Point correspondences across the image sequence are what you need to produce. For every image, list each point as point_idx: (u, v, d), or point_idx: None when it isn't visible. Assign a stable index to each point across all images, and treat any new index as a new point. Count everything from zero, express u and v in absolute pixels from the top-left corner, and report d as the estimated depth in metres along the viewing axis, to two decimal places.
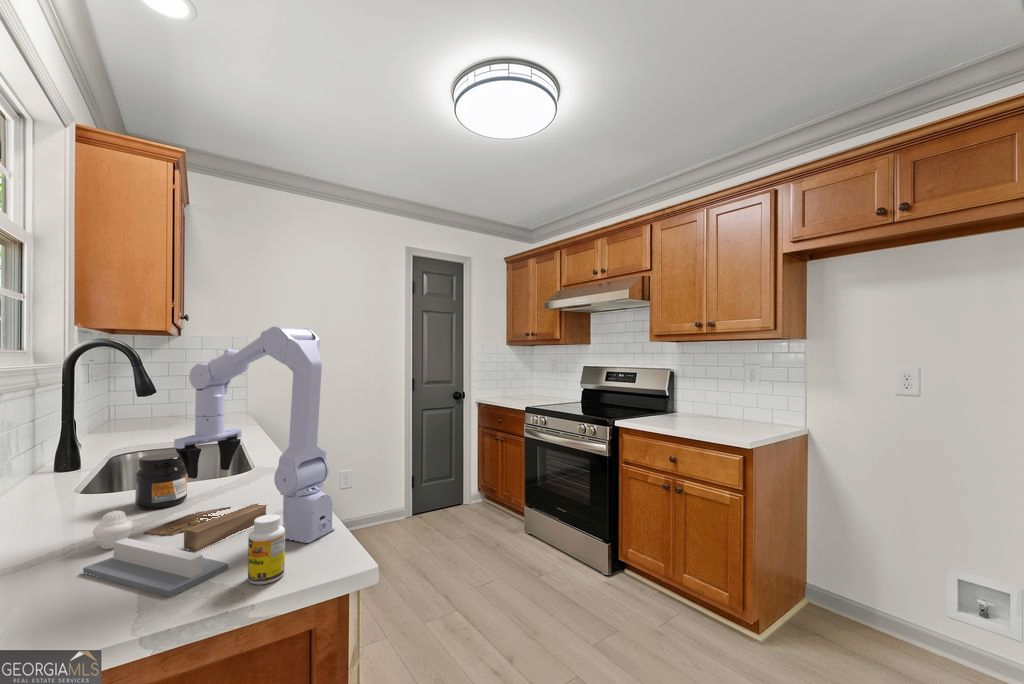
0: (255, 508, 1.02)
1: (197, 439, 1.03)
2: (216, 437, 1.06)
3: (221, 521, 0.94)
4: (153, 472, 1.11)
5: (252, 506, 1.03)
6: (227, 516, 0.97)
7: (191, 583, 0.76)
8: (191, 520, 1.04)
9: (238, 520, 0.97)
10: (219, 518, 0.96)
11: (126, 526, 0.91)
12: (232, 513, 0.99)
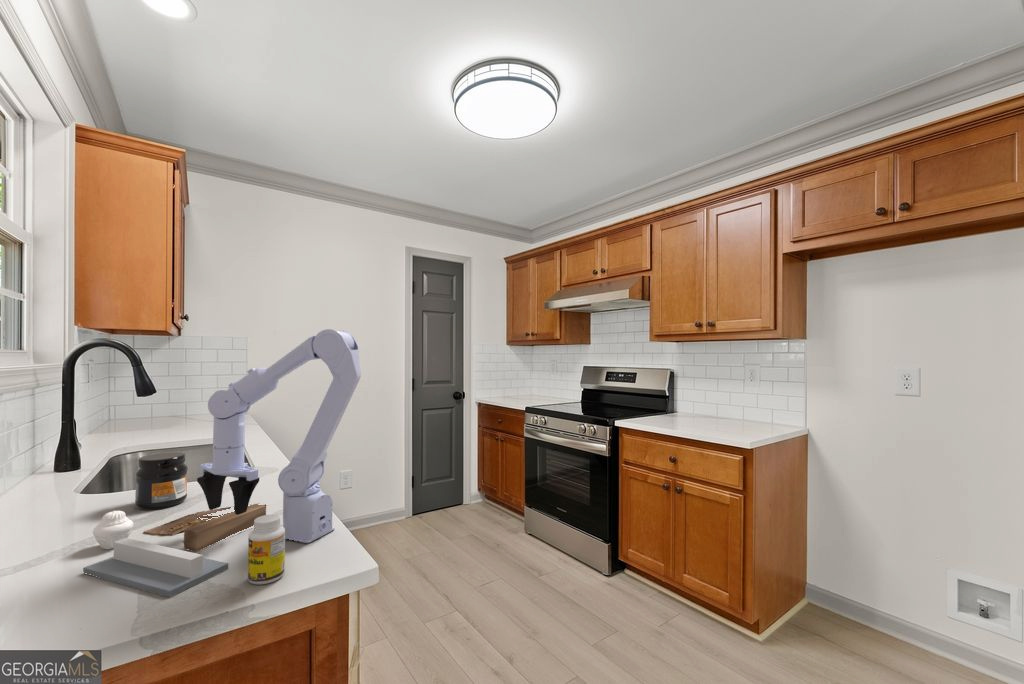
0: (255, 508, 1.02)
1: (207, 469, 0.97)
2: (213, 472, 0.95)
3: (221, 521, 0.94)
4: (153, 472, 1.11)
5: (252, 506, 1.03)
6: (227, 516, 0.97)
7: (191, 583, 0.76)
8: (191, 520, 1.04)
9: (238, 520, 0.97)
10: (219, 518, 0.96)
11: (126, 526, 0.91)
12: (232, 513, 0.99)
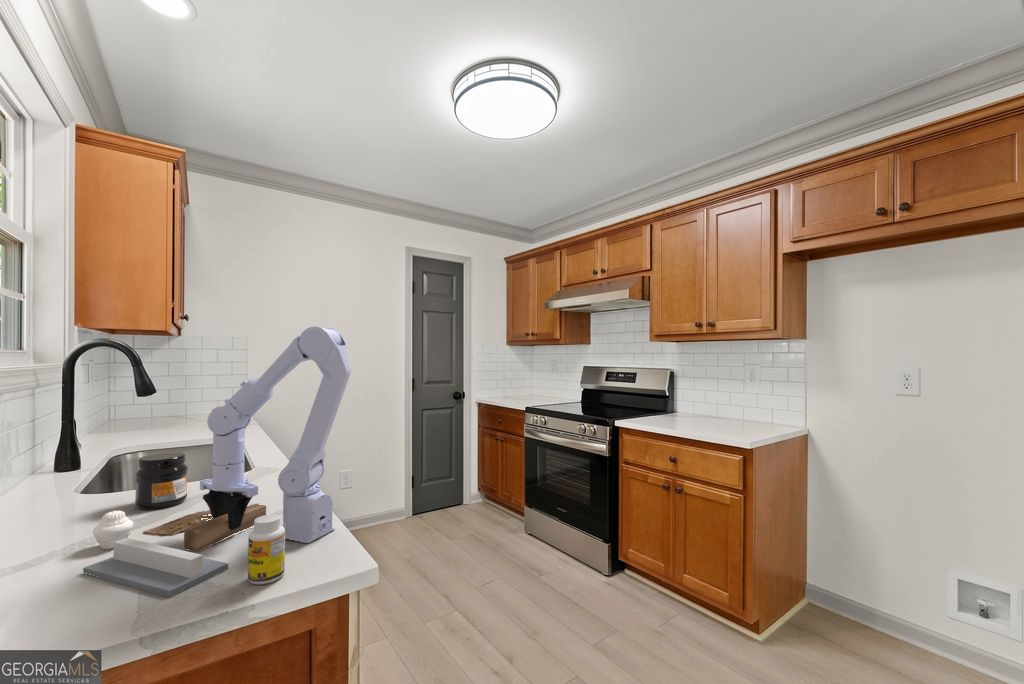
0: (255, 508, 1.02)
1: (206, 485, 0.97)
2: (213, 489, 0.95)
3: (221, 521, 0.94)
4: (153, 472, 1.11)
5: (252, 506, 1.03)
6: (227, 516, 0.97)
7: (191, 583, 0.76)
8: (191, 520, 1.04)
9: None
10: (219, 518, 0.96)
11: (126, 526, 0.91)
12: None
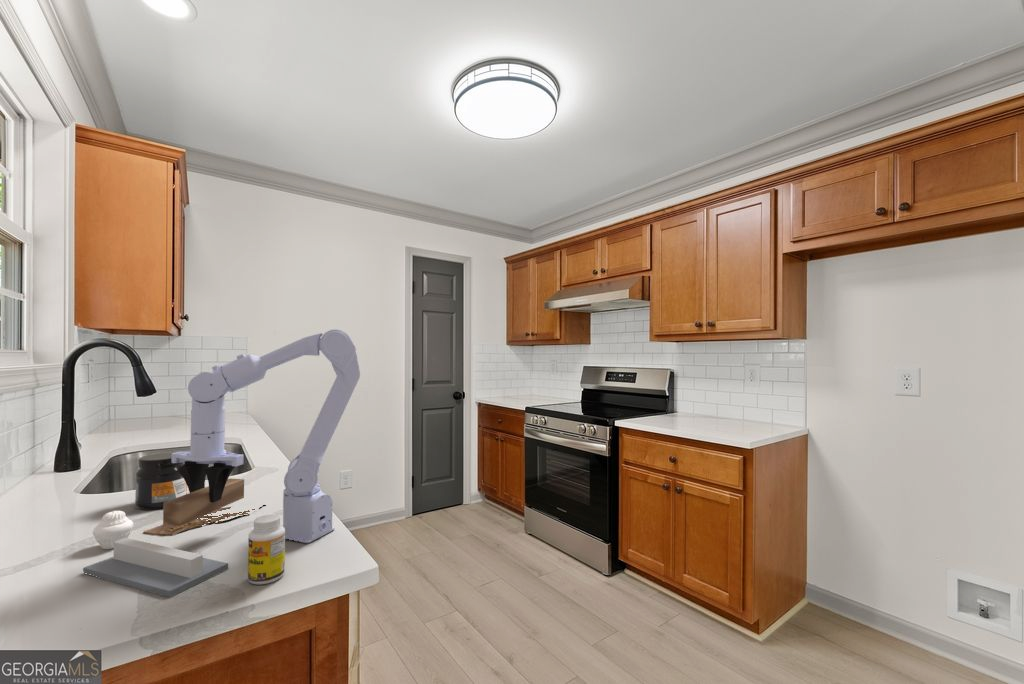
0: (233, 481, 0.97)
1: (182, 457, 0.91)
2: (192, 459, 0.89)
3: (202, 494, 0.89)
4: (153, 472, 1.11)
5: (229, 480, 0.98)
6: (206, 489, 0.92)
7: (191, 583, 0.76)
8: None
9: None
10: (198, 491, 0.91)
11: (126, 526, 0.91)
12: None
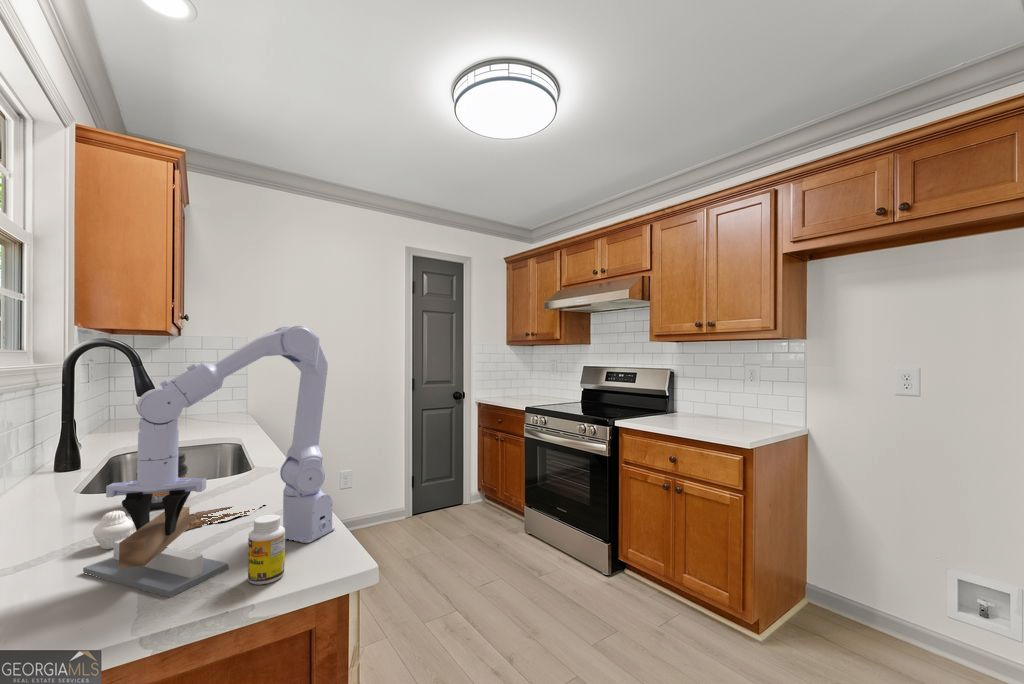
0: None
1: (125, 488, 0.79)
2: (145, 490, 0.78)
3: (158, 527, 0.79)
4: None
5: None
6: (156, 522, 0.81)
7: (191, 583, 0.76)
8: (191, 520, 1.04)
9: None
10: (148, 526, 0.80)
11: (126, 526, 0.91)
12: (157, 519, 0.83)
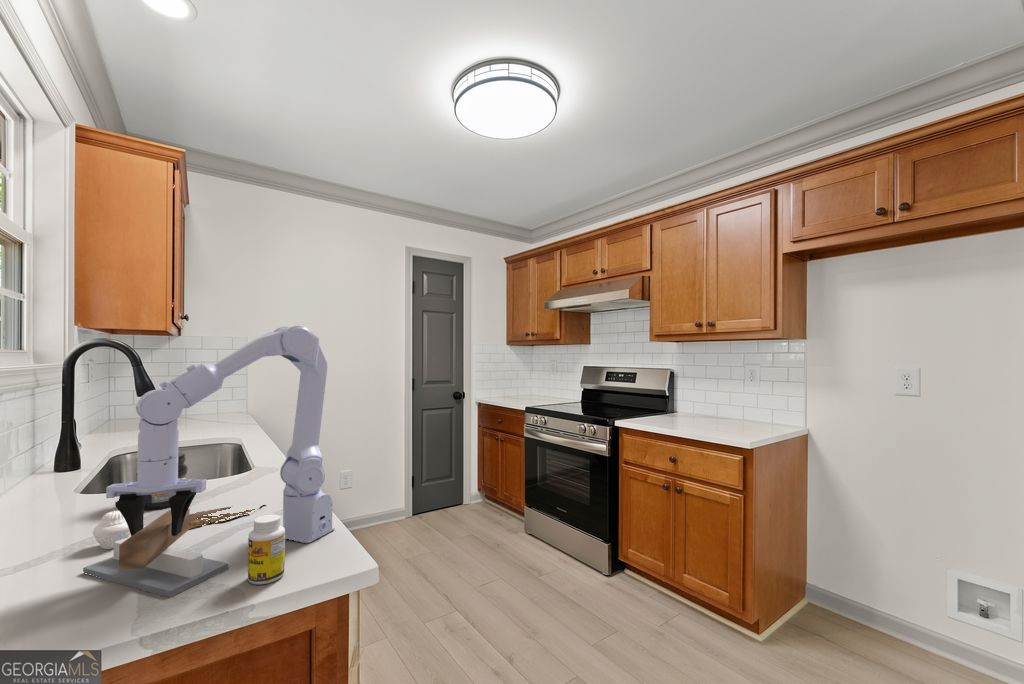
0: None
1: (125, 489, 0.79)
2: (145, 490, 0.78)
3: (158, 529, 0.79)
4: None
5: None
6: (156, 524, 0.81)
7: (191, 583, 0.76)
8: (191, 520, 1.04)
9: None
10: (148, 528, 0.80)
11: (126, 526, 0.91)
12: (157, 521, 0.83)
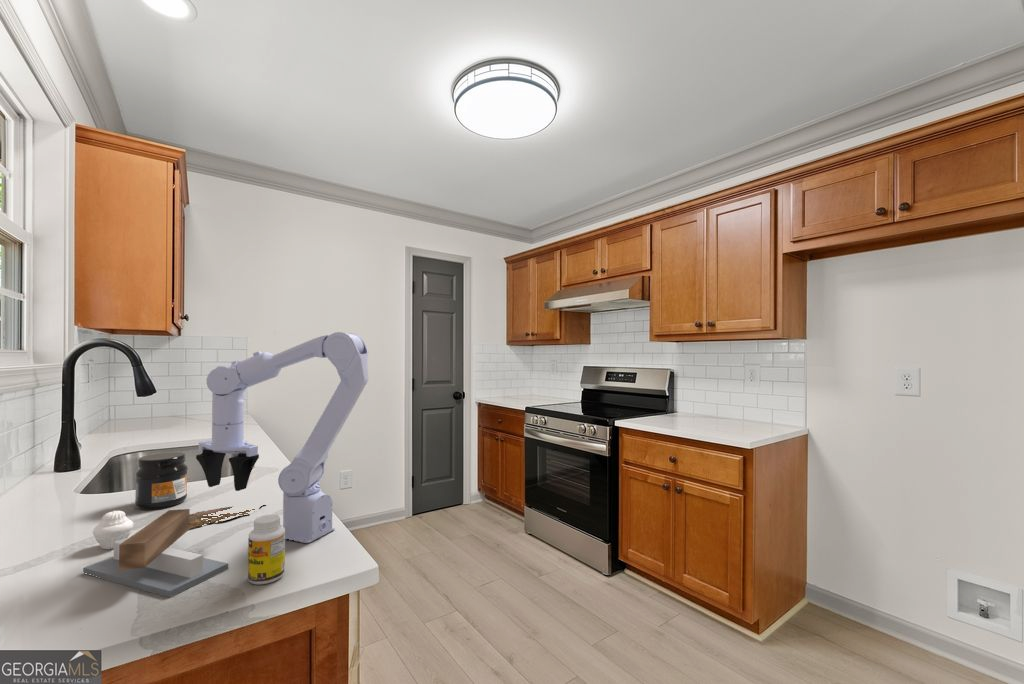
0: (180, 513, 0.87)
1: (206, 446, 0.97)
2: (212, 448, 0.94)
3: (158, 529, 0.79)
4: (152, 472, 1.11)
5: (171, 512, 0.88)
6: (156, 524, 0.81)
7: (191, 583, 0.76)
8: (191, 520, 1.04)
9: (171, 527, 0.83)
10: (148, 528, 0.80)
11: (126, 526, 0.91)
12: (157, 521, 0.83)
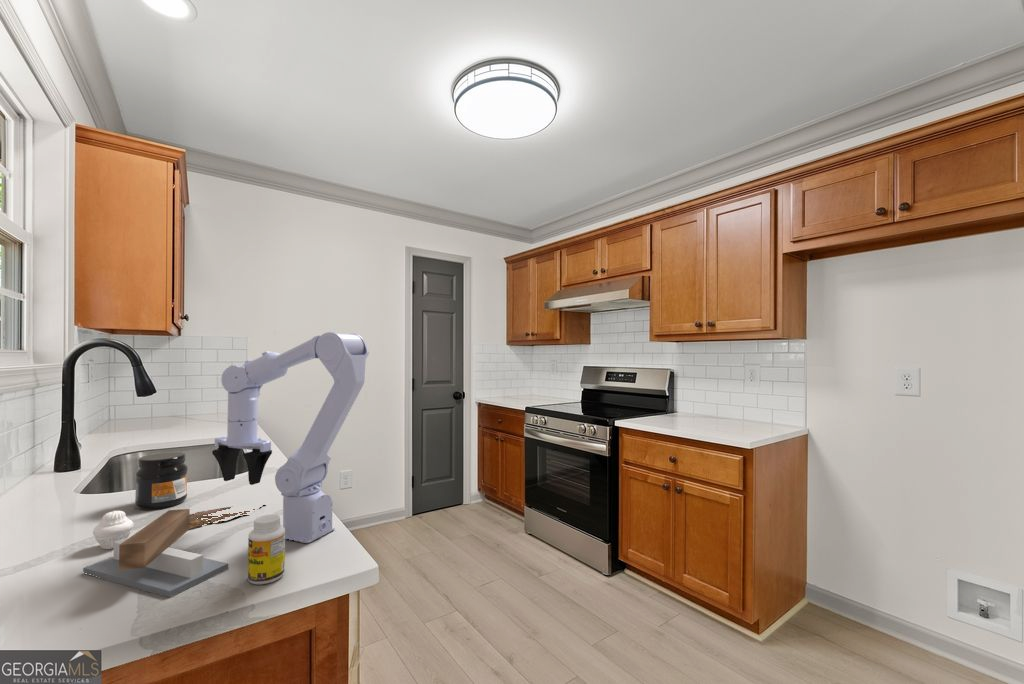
0: (180, 513, 0.87)
1: (221, 441, 1.01)
2: (228, 444, 0.99)
3: (158, 529, 0.79)
4: (153, 472, 1.11)
5: (171, 512, 0.88)
6: (156, 524, 0.81)
7: (191, 583, 0.76)
8: (191, 520, 1.04)
9: (171, 527, 0.83)
10: (148, 528, 0.80)
11: (126, 526, 0.91)
12: (157, 521, 0.83)
